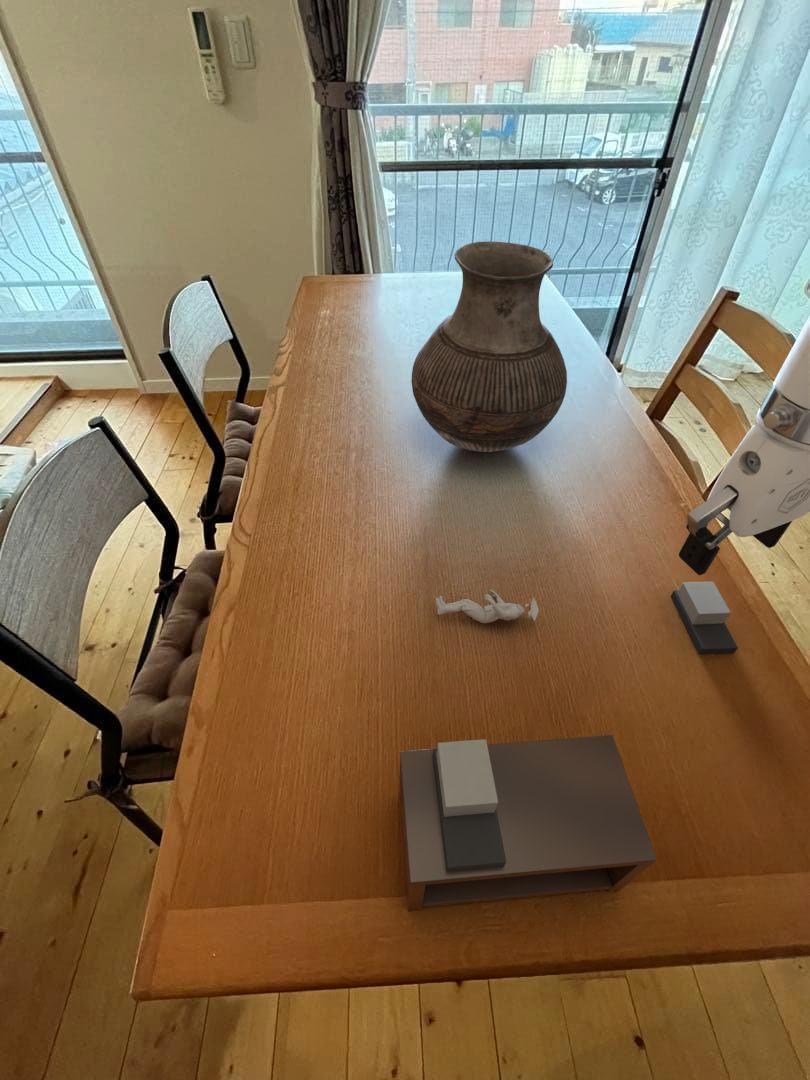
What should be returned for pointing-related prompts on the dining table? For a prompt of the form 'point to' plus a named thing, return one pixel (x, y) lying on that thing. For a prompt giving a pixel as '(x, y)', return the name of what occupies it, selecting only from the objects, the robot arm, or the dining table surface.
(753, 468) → the robot arm
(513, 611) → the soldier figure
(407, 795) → the shoe rack
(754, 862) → the dining table surface
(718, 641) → the right slipper
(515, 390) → the vase
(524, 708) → the dining table surface
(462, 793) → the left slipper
